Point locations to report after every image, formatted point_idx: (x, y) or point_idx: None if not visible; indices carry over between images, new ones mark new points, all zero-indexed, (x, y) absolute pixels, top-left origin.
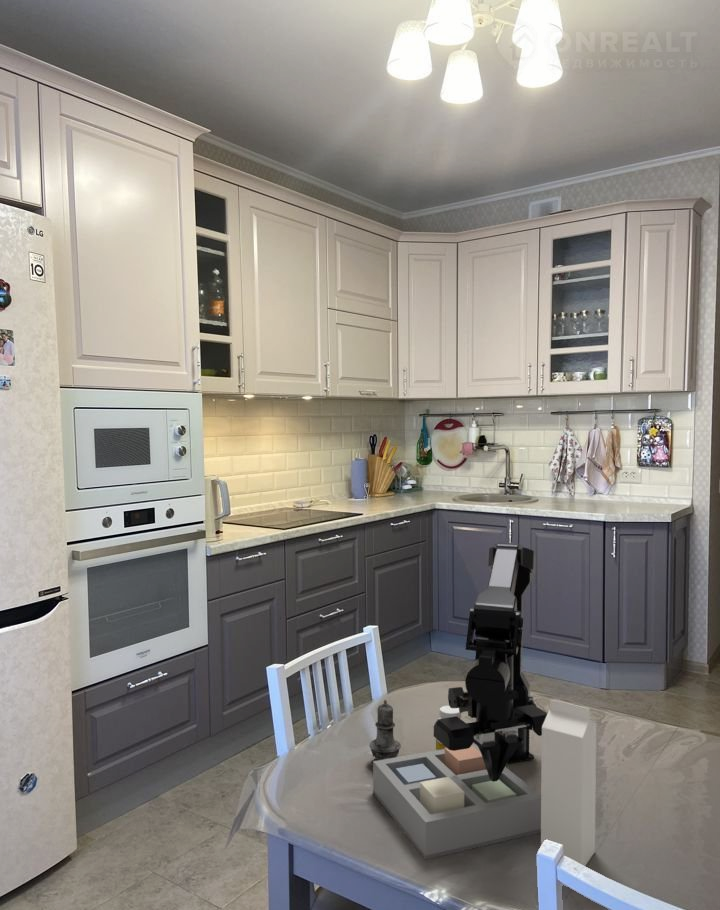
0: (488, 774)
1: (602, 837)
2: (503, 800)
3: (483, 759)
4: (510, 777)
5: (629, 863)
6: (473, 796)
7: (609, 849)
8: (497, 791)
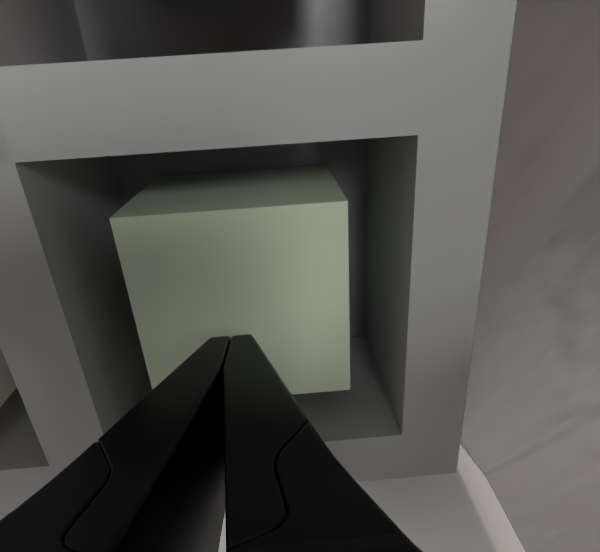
0: (194, 354)
1: (571, 424)
2: None
3: (107, 437)
4: (430, 237)
5: (529, 525)
6: (57, 393)
7: (535, 473)
8: (255, 339)
